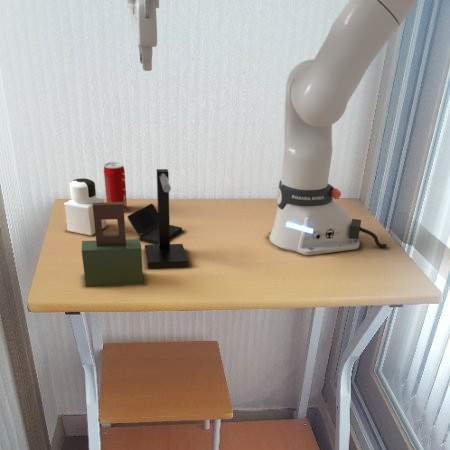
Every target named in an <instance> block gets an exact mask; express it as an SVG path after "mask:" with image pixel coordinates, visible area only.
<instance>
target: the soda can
mask: <svg viewBox="0 0 450 450" xmlns="http://www.w3.org/2000/svg"><path fill="white" fill-rule="evenodd" d="M103 165H104V166H103V179H104V192H105V201H106V202H123V205H124V212H125V211H126V210H127V208H128V203H127V187H126V186H127V185H126V170H125V166H124V164H123V163H122V162H118V161H117V162H116V161H113V162H112V161H111V162H106V163H105V164H103Z"/></svg>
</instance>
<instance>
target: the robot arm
mask: <svg viewBox="0 0 450 450" xmlns="http://www.w3.org/2000/svg"><path fill="white" fill-rule="evenodd" d="M126 2H127V5H126V6H127V7H128V8H129V15H130V20H131V21H130V22H131V28H132V33H133V36H134V39H135V40H136V43H137V47H138V54H139V55H138V56H139V63H140V65H142V70H143V71H144V72H151V71H152V70H153V48H156V47H157V45H158V22H157V21H158V20H157V9H159V8H160V0H127V1H126ZM417 2H418V0H348V2H347V3H346V5H345V6H344V7H343V9H342V11H341V12H340V13H339V14H338V15H337V17H336V19H334V21H333V23H332V24H331V27H330V29H329V31H328V33H327V36H326V37H325V39H324V41H323V43H322V45H321V47H320V48H319V50H318V52H317V53H316V55H315V57H314V59H307V60H303V61H302V62H299V63H297V64H296V65H295V66H294V67H293V68H292V70H291V71H290V72H289V74H288V76H287V78H286V84H285V99H284V101H285V102H284V140H283V141H284V145H283V156H282V168H281V179H280V180H279V182H278V189H277V195H276V205H277V209H276V214H275V218H274V222H273V226H272V229H271V230H270V231H271V232H270V234H269V237H268V239H269V241H270V242H271V244H273V245H275V246H276V247H278V248H281V249H284V250H288V251H292V252H296V253H299V254H301V255H304V256H313V255H321V254H322V255H323V254H329V253H337V252H345V251H354V250H358V249H359V248H360V242H361V241H360V239H359V236H360V232H362V233H364V234H367V235H368V236H370V237H372V238H373V241H374V242H375V245H376V246H377V247H379V248H387V247H388V246H387V245H388V244H387V243H381V242H380V241H379V237H378V236H377V235H376V234H375V233H374V232H373V231H371V230H369V229H367V228H364V227H361V225H362V219H357V218H352V219H351V217H350V216H349V214H348V213H347V212H346V211H345V210H344V209H343V208H342V207H341V206H340V205H339V204H338V203H337V202H336V201H334V200H338V199H340V198H341V196H342V191H340V190H339V188H335V187H334V186H333V185H332V184H330V183H329V177H330V170H331V164H332V156H333V125H334V124H336V123H337V122H338V121H339V120H340V119H342V117H343V115H344V114H345V111H346V110H347V107H348V103H349V102H350V100H351V98H352V96H353V95H354V93H355V91H357V88H358V86H359V85H360V83H361V82H362V79H363V77H364V76H365V74H366V72H367V71H368V69H369V67H370V66H371V64H372V62H373V61H374V60H375V58H376V57H377V56H378V55H379V53H380V52H381V50H382V49H383V48H384V46H385V45H386V44H387V43H388V41H389V40H390V39H391V37H392V36H393V35H394V33H395V32H396V31H398V29H399V27H400V26H401V25H402V23H403V22H404V20H405V19H406V17H408V15H409V14H410V12H411V10H412V9H413V8H414V6H415V4H416V3H417Z"/></svg>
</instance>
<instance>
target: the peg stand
mask: <svg viewBox="0 0 450 450" xmlns="http://www.w3.org/2000/svg"><path fill="white" fill-rule="evenodd" d="M171 188H172V187H171V185H170V181H169V170H168V168H157V169H156V194H157V195H156V197H157V199H156V200H157V212H158V232H159V245H157V244H144V254H145V260H146V265H147V269H148V270H149V269H150V270H152V269H174V268H188V267H189V261H188V258H187V254H186V250H185V247H184V244H183V243H171V238H170V226H169V225H170V192H171Z"/></svg>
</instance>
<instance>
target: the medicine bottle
mask: <svg viewBox="0 0 450 450" xmlns="http://www.w3.org/2000/svg"><path fill="white" fill-rule="evenodd" d="M68 185H69V193H70V199H69V200H67V201H66V202H64V203H63V206H64V214H65V221H66V223H65V224H66V230H67V232H71V233H75V234H81V235H85V236H94V235H95V225H94V215H93V203H102V202H105V200H104V199H103V198H99V197H97V191H96V183H95V181H94V180H91V179H89V178H85V177H84V178H83V177H82V178H81V177H80V178H75V179H73V180H71V181H70V182H69V184H68ZM101 222H102V230H103V229H104V228H107V221H106V220H101Z"/></svg>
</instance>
